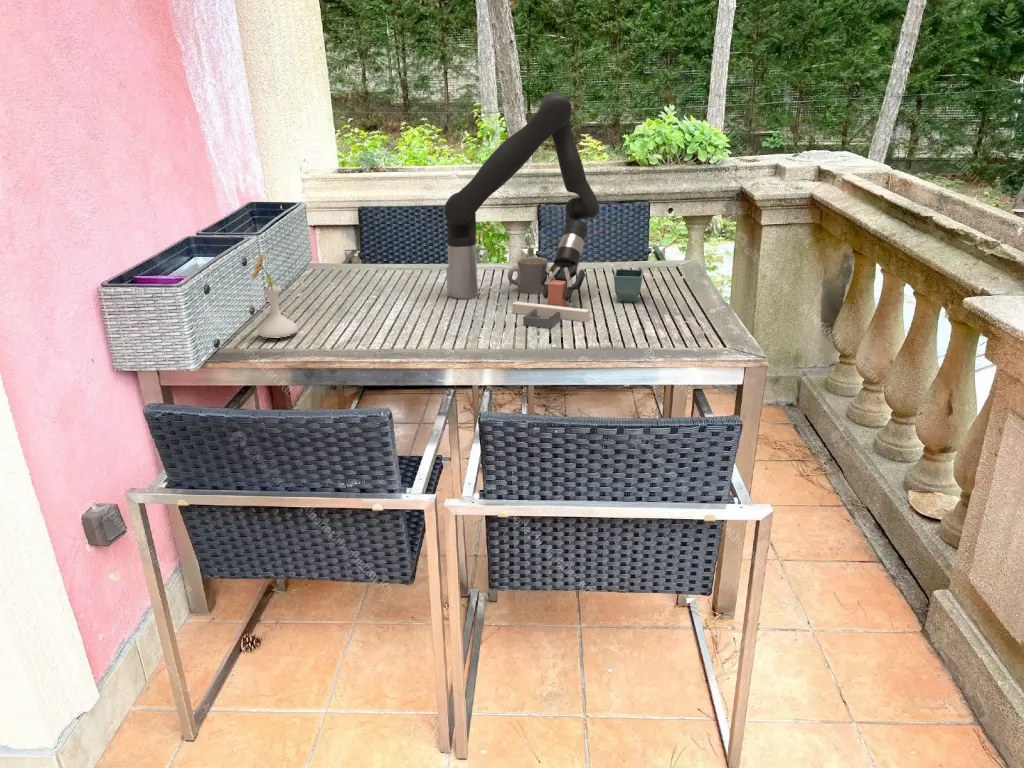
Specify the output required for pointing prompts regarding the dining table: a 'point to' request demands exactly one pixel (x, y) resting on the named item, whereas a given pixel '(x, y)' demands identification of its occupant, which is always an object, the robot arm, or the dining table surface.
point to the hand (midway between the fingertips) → (555, 298)
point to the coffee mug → (528, 274)
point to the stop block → (557, 293)
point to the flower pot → (627, 284)
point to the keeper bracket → (540, 320)
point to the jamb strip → (552, 311)
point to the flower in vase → (273, 309)
